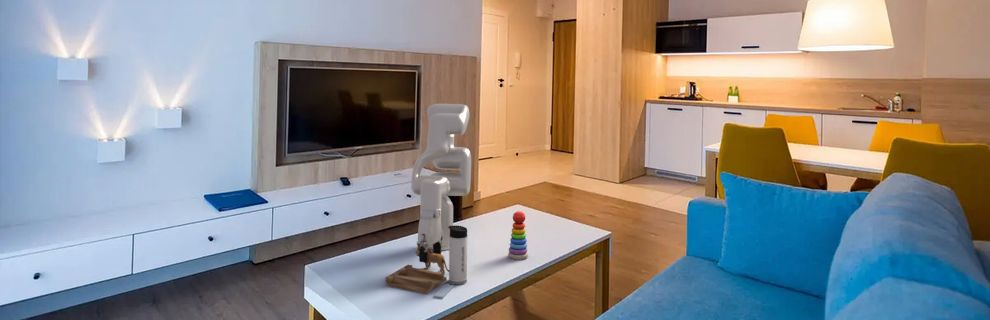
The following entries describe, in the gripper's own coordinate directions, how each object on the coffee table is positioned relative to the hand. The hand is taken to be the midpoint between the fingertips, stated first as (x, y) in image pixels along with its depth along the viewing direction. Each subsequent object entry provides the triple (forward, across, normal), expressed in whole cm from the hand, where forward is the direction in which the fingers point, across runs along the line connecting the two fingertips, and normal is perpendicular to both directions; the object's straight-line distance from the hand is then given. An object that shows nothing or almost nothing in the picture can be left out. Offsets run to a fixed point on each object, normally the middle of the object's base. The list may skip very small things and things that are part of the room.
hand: (430, 258), depth 197 cm
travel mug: (+5, +5, +14) cm, 15 cm away
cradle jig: (+5, +12, +2) cm, 13 cm away
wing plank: (+6, +15, +14) cm, 22 cm away
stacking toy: (+4, -29, +24) cm, 38 cm away
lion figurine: (+5, -1, 0) cm, 5 cm away
